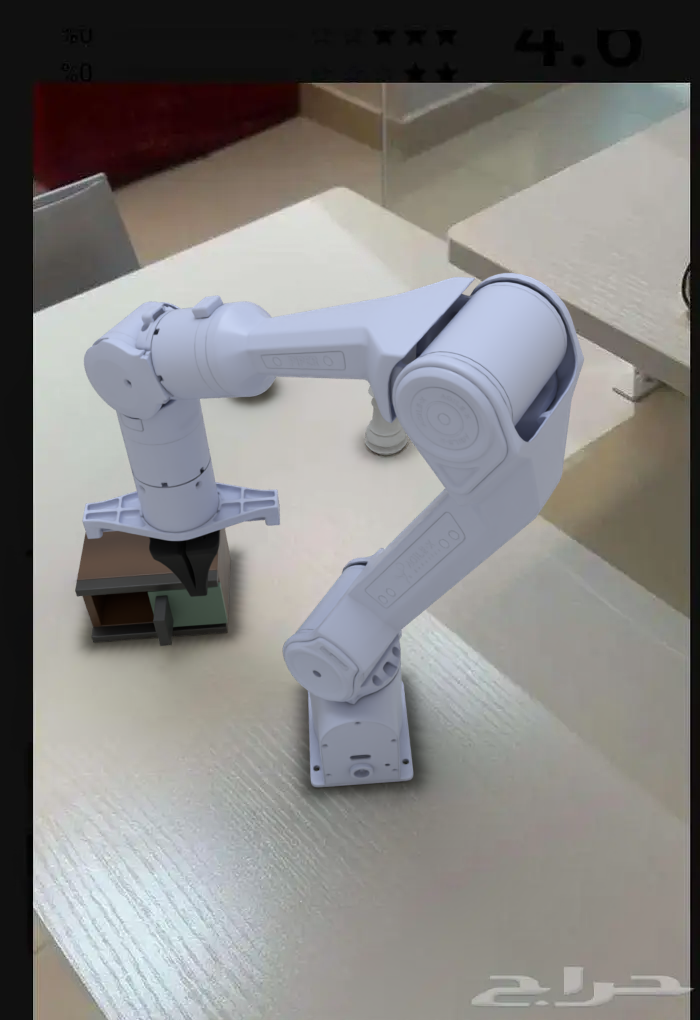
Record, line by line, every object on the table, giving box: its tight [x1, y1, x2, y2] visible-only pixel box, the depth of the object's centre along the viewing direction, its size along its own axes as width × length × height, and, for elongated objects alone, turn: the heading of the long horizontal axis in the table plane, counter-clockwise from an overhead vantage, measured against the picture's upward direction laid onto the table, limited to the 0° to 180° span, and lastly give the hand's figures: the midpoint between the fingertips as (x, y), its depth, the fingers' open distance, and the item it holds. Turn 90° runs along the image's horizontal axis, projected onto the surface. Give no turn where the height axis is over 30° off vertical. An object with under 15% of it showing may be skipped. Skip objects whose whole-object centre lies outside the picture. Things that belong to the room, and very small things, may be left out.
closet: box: [74, 528, 232, 643], centre depth 95 cm, size 9×12×7 cm
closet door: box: [148, 582, 229, 647], centre depth 91 cm, size 3×6×5 cm, turn 93°
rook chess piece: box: [364, 386, 408, 456], centre depth 108 cm, size 4×4×8 cm
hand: (199, 587), depth 85 cm, fingers closed
